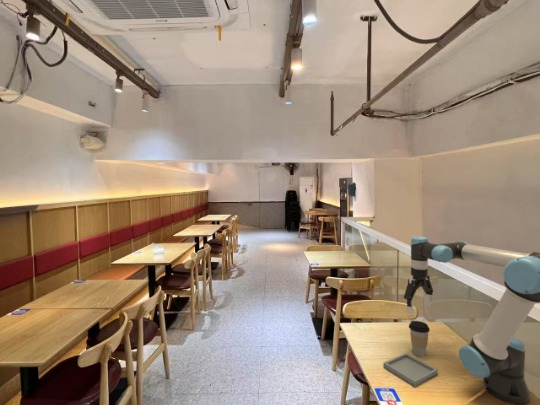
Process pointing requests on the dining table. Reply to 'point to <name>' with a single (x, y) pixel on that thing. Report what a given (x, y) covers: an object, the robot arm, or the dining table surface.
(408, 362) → the tray
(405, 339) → the dining table surface
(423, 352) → the coffee cup
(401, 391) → the dining table surface
